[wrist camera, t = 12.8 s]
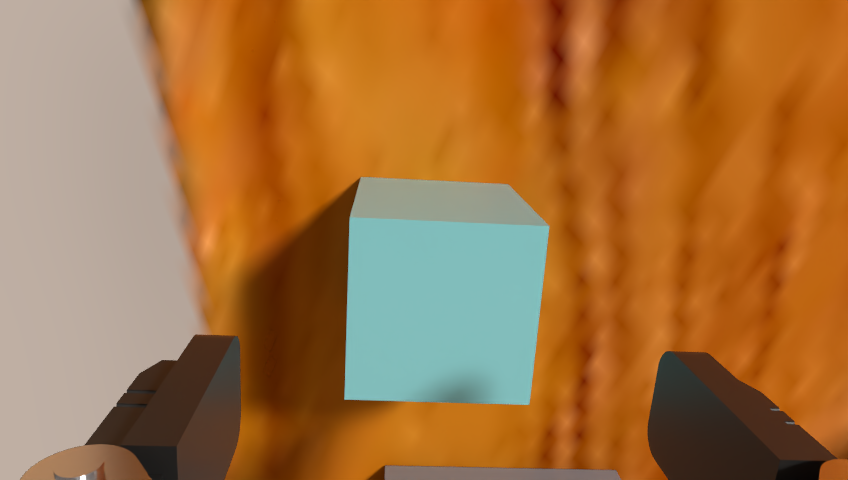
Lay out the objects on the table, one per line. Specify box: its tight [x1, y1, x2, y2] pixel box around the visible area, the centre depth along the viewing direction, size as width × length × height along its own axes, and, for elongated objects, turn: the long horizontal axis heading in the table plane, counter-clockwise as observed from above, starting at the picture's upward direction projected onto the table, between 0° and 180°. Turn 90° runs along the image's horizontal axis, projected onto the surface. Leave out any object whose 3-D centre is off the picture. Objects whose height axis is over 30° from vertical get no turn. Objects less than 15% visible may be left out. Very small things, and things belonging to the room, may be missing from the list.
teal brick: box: [344, 177, 549, 405], centre depth 19 cm, size 5×5×6 cm
